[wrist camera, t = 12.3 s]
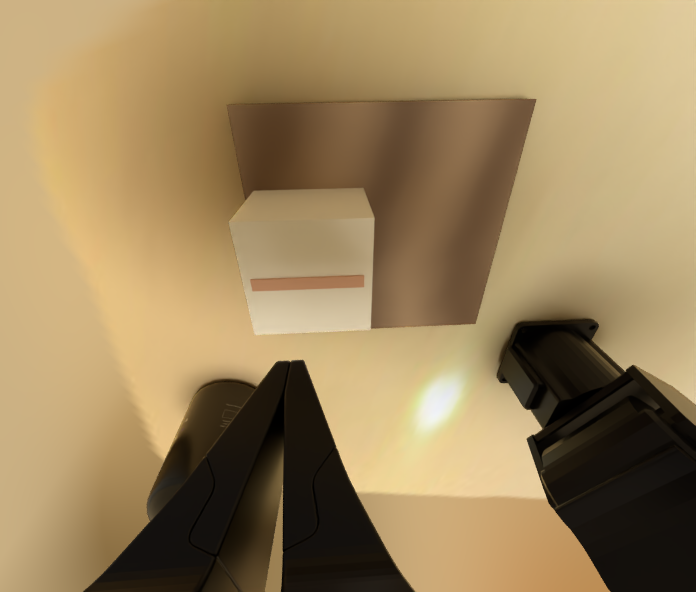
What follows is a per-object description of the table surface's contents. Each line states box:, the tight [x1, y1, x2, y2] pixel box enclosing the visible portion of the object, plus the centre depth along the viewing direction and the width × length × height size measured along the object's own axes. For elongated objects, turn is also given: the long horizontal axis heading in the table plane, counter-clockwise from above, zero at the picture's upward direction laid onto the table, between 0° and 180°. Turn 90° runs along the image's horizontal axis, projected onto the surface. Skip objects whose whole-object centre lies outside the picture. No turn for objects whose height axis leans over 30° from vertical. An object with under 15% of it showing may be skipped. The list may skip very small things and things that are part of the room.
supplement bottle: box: [147, 382, 255, 521], centre depth 23 cm, size 7×7×12 cm
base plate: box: [227, 99, 536, 328], centre depth 19 cm, size 15×14×1 cm
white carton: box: [228, 188, 375, 335], centre depth 16 cm, size 6×6×5 cm
